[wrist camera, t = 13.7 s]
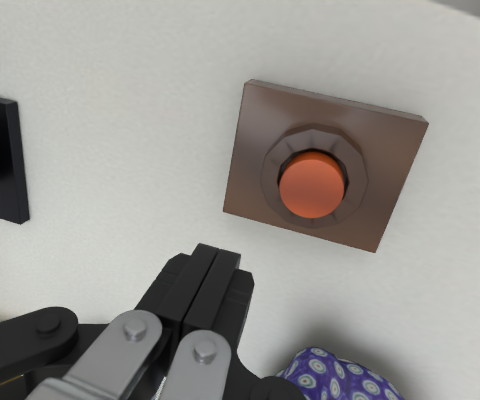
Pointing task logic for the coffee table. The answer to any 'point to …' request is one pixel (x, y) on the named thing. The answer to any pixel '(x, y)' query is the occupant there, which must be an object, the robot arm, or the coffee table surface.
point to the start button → (312, 185)
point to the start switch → (330, 143)
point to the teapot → (335, 378)
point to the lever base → (11, 166)
